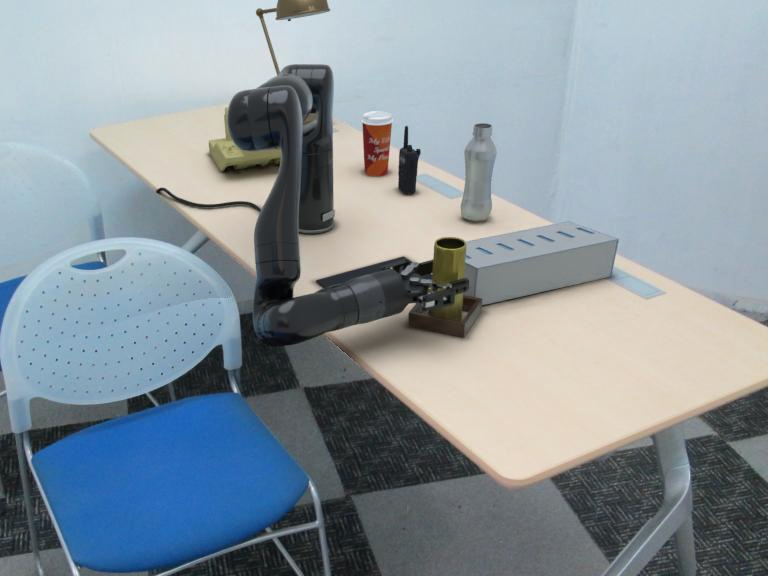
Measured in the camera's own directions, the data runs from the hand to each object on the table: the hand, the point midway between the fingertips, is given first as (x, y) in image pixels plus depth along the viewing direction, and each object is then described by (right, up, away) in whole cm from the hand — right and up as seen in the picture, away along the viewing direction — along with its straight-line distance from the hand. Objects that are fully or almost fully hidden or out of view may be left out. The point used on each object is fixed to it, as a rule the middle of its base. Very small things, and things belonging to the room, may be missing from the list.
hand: (452, 274), depth 145 cm
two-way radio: (0, +28, +55) cm, 62 cm away
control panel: (-38, +40, +75) cm, 93 cm away
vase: (0, -7, +4) cm, 9 cm away
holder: (-1, -7, +4) cm, 8 cm away
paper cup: (-7, +35, +66) cm, 75 cm away
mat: (-11, +1, +17) cm, 20 cm away
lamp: (-29, +62, +107) cm, 127 cm away
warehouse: (+16, +2, +17) cm, 23 cm away
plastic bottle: (+12, +18, +40) cm, 46 cm away
